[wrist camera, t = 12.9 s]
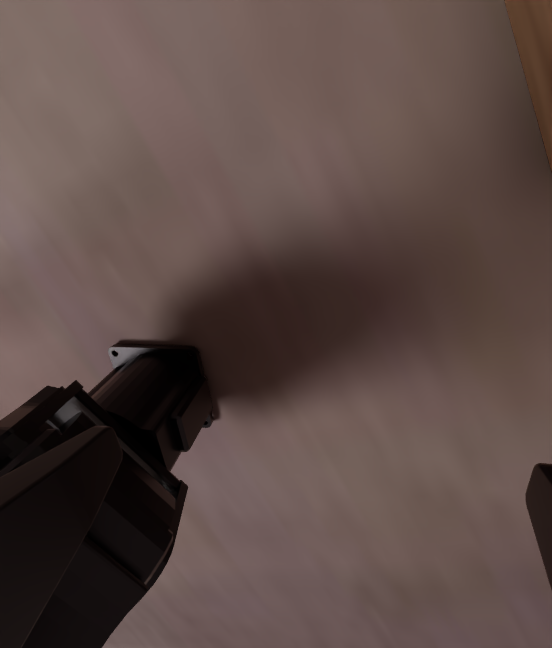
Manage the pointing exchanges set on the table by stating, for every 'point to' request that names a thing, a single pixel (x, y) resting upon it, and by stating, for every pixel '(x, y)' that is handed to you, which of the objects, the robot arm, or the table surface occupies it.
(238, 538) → the table surface
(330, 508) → the table surface
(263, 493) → the table surface
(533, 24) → the cold frame
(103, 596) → the robot arm
